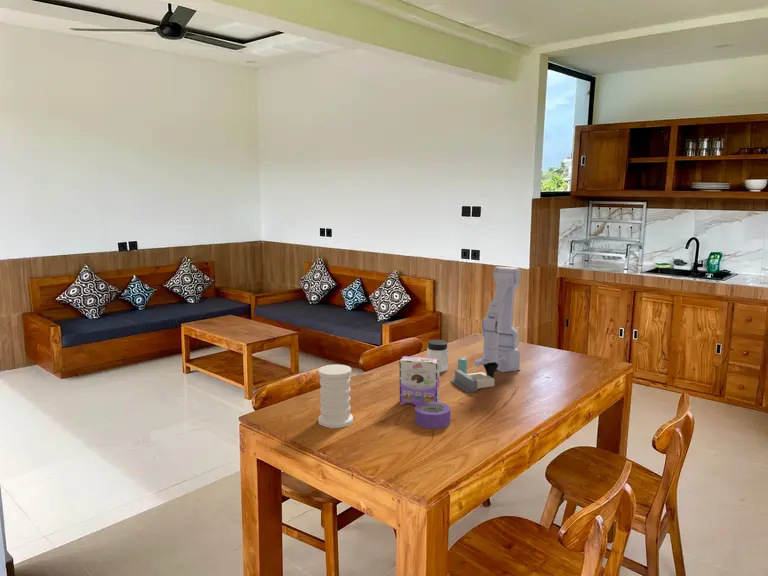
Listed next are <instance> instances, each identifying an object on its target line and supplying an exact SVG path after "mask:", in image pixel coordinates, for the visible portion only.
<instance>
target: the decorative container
mask: <svg viewBox="0 0 768 576" xmlns="http://www.w3.org/2000/svg"><path fill="white" fill-rule="evenodd" d="M317 371H318V372H317V373H318V376H320V379H319V385H320V389H319V393H320V398H319V402H320V405H321V406H320V410H319V412H320V415H319V416H318V421H317V422H318V424H319V426H321V425H322V426H321V427H323V426H325V427H324V428H326V427H329V428H328V429H341V428H346V427H349V426H351V425H352V424H353V422H354V416H353V414H351V413H350V412H351V409H352V408H351V405H350V403H351V400H352V398H351V396H350V394H351V391H352V390H351V387H350V384H351V378H350V376H351V375H352V372H353V371H352V367H350V366H349V365H346V364H327V365H323V366H320V367H319V368H318V369H317Z"/></svg>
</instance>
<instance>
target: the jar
mask: <svg viewBox="0 0 768 576" xmlns="http://www.w3.org/2000/svg"><path fill="white" fill-rule="evenodd" d="M426 358H436V359H440V373H444V372H446V371H448V370H449V369H448V363H449V362H448V361H449V349H448V342H447V341H446V340H443V339H432V340H428V342H427V347H426Z"/></svg>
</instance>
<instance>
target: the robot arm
mask: <svg viewBox="0 0 768 576" xmlns="http://www.w3.org/2000/svg"><path fill="white" fill-rule="evenodd" d="M493 280H494V283H495V290H494V297H493V300H491V301H490V302H489V305H488V308H487V312H486V315H485V317H484V318H483V319H482V322H481V330H482V336H483V353H482V354H483V355H482V357H481V358H478V359H476V360H474V366H476V367H480V366H483V367H484V369H485V372H486V373H485V374H487V375H488V376H490V377H492V378H495V377H494V376H495V373H496V371H499V372H501V373H507V372H513V371H520V370H521V367H520V366H521V365H520V364H521V353H520V350H519V348H518V346H519V343H520V342H519V331H518V329H516V328H515V327H514V326H513V317H514V307H515V306H514V301H515V291H516V288H518V287H520V284H521V269H519V267H506V266H498V265H497V266H496V267H494V269H493Z"/></svg>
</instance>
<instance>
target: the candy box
mask: <svg viewBox="0 0 768 576" xmlns="http://www.w3.org/2000/svg"><path fill="white" fill-rule="evenodd" d="M398 363H399V404H401V405H414V406H416V405H418V404H420V403H423V402H440V376H441V375H440V359H436V358H427V357H420V356H407V355H405V356H402V357H401V359H400V360H399V362H398Z"/></svg>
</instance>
